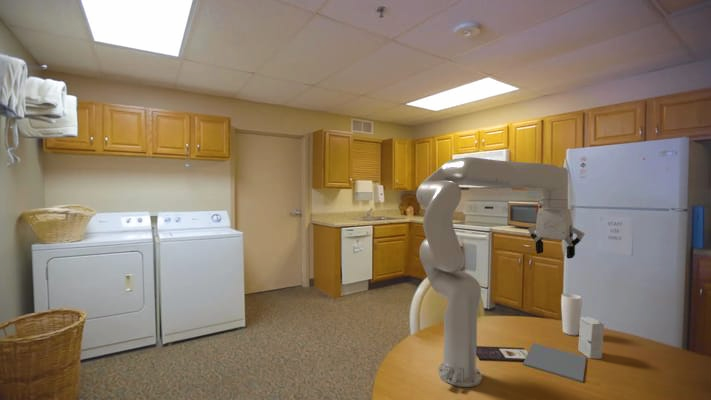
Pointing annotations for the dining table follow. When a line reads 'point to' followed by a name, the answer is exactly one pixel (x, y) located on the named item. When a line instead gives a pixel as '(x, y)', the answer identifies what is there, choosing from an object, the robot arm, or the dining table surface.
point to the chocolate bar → (501, 354)
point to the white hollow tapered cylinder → (571, 313)
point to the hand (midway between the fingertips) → (554, 255)
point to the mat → (556, 362)
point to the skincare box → (591, 337)
